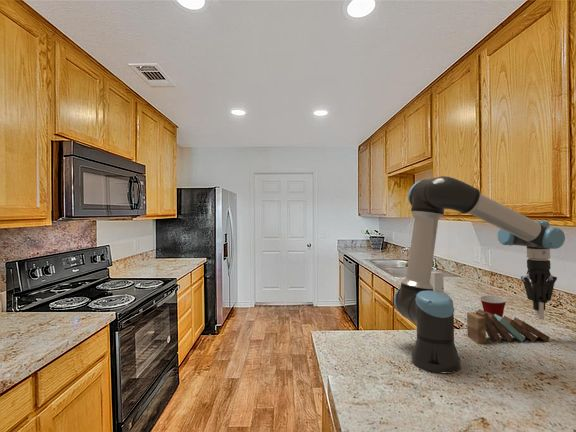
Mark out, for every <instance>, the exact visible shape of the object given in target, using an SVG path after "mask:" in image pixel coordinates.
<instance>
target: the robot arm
mask: <svg viewBox="0 0 576 432" xmlns="http://www.w3.org/2000/svg"><path fill="white" fill-rule="evenodd" d="M407 197H408V198H407V200H408V202H409V204H410V206H411V207H410V208H411V209H410V210H411V211H410V214H412V215H413V218H414V219H413V224H412V232H411V239H410V246H409V247H410V248H409V253H408V261H407V262H408V263H407V268H406V269H407V270H406V276H405V279H403V280H401V283H400V287H399V288H398V289H397V290H396V292H395V293H394V297H393V305H394V307H395V309H396V310H397V312H398V313H399V314H400V315H401V316H402V317H404V318H406V319H408V320H409V321H411V322H412V323H414V324H416V340H415V344H414V348H413V351H412V352H411V362H412V364H413V365H414V366H416V367H417V366H418V367H417V368H420V369H421V368H422V369H421V370H424V369H425V370H424V371H427V370H428V372H431V371H432V372H431V373H436V372H453V371H456V372H458V371H460V369H461V359H460V357H459V353H458V350H457V347H456V345H455V320H454V319H455V317H454V315H455V308H454V302H453V298H451V296H450V295H448V294H446V293H441V292H436V291H433V286H432V285H431V284H430V278H431V272H432V268H433V261H434V254H435V249H436V247H435V246H436V241H437V240H436V239H437V233H438V226H439V225H438V224H439V220H440V219H441V218H442V217H444V214H445V213H444V212H445V210H453V211H456V212H459V213H461V214H463V215H465V214H469V215H471V216H474V217H476V218H478V219H480V220H481V221H484V222H487V223H488V224H490V225H493V226H494V227H497V228H499V229H498V230H497V233H496V234H497V240H498V242H499V243H500V244H501V245H503V246H509V247H510V246H521V247H526V258H527V260H526V267H527V271H526V275H523V276H520V279H521V282H523V285H524V286H523V287H524V289H525V293H526V297H527V300H530V301H532V303H533V304H532V308H533V310H534V318H535V319H538V320H544V319H545V314H544V313H545V312H544V311H546V304H547V303H549V302H550V301H551V300H552V295H553V291H554V287H555V283H556V282H557V279H558V277H557V276H554V275H552V274H551V271H550V270H551V261H550V259H551V249H552V250H553V249H554V250H556V249H559V248H561V247H562V246H563V245H564V244H565V241H566V236H565V233H564V231H563V230H562V229H560V228H558V227H555V226H550V222H549V221H548V220H533V219H532V218H529V217H527V216H525V215H523V214H521V213H519V212H517V211H515V210H514V209H511V208H509V207H508V206H507V205H506V206H505V205H503V204H501V203H500V202H497V201H496V200H494V199H492V198H490V197H488V196H486V195H483V194H482V193H481V191H480V189H479V188H476V187H474V186H473V185H471V184H469V183H466V182H465V181H462V180H459V179H456V178H454V177H451V176H444V175H443V176H437V177H433V178H425V179H422V180H419V181H417V182H415V183H414V184H413V185H412V186H411V187H410V188H409V190H408V194H407ZM457 370H458V371H457ZM453 373H454V372H453Z"/></svg>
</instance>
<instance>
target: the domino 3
mask: <svg viewBox="0 0 576 432" xmlns="http://www.w3.org/2000/svg"><path fill="white" fill-rule="evenodd" d="M494 316H495V317H496V318H497V320H498V321H499V322H500V323H501V324H502V326H503V327H504V328H505V329H506V330H507V332H508V333H509V334H510V335H511V337H512V338H513V339H516V340H518V341H520V342H521V343H523V342H524V340H525V339H526V337H525V336H523V335H522V334H520V333H519V332H518V331H517V330H516V329H515V328H513V327H512V326H511V325H510V324H509V323H508V322H507V321H506V320H505V319H503V318H502V317H500V316H498V315H496V314H494Z"/></svg>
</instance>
